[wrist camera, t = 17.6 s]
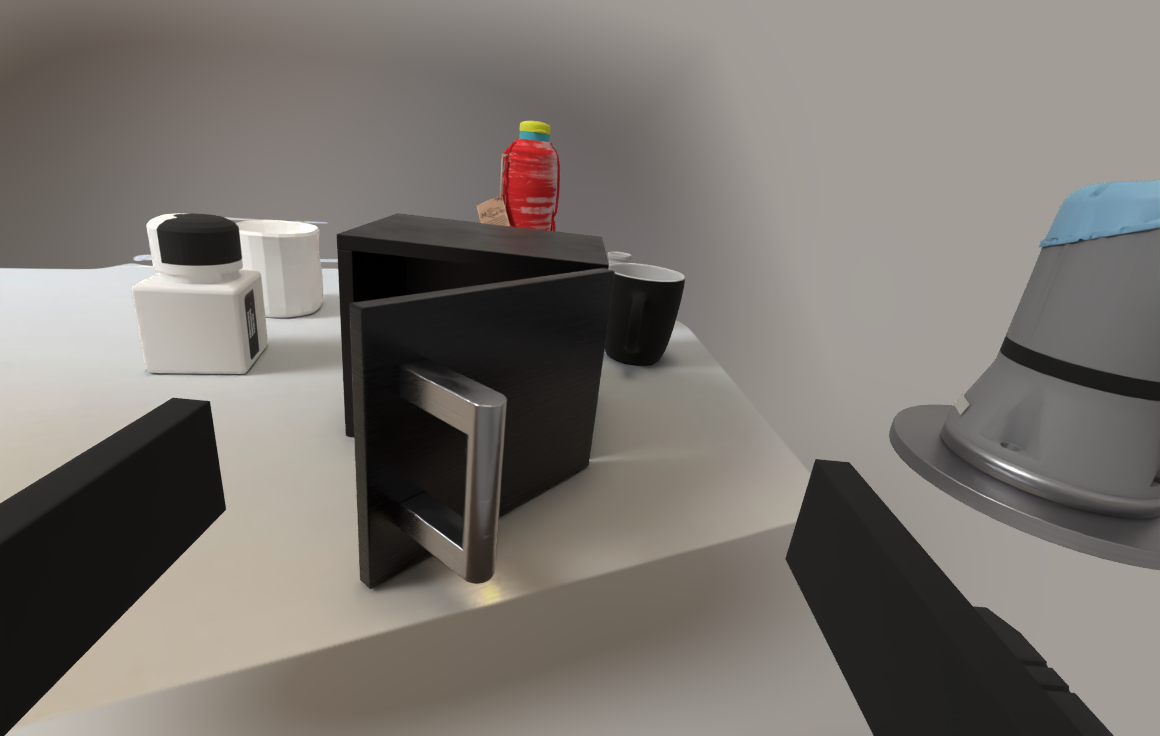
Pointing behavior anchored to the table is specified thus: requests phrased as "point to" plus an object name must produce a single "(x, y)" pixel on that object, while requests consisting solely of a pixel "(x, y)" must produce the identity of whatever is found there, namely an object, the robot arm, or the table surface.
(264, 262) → the cup
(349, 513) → the table surface
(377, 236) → the dark grey cabinet
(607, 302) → the door
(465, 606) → the table surface
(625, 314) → the mug
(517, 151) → the water bottle
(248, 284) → the container
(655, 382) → the table surface
